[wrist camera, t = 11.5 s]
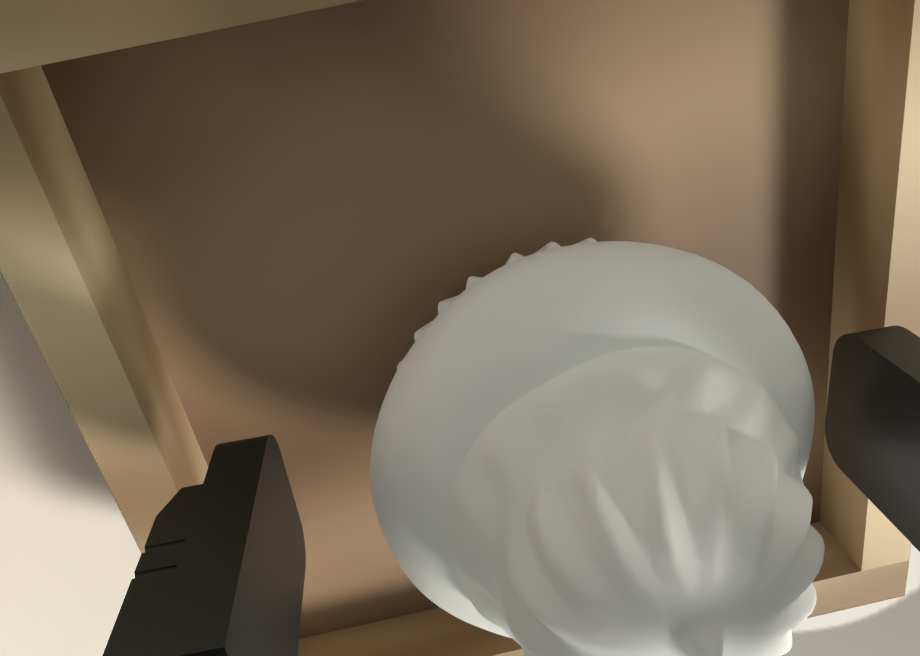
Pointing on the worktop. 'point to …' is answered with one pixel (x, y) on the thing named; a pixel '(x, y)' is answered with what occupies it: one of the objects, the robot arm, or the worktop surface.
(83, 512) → the worktop surface
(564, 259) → the white ribbed cup
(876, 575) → the wooden tray
